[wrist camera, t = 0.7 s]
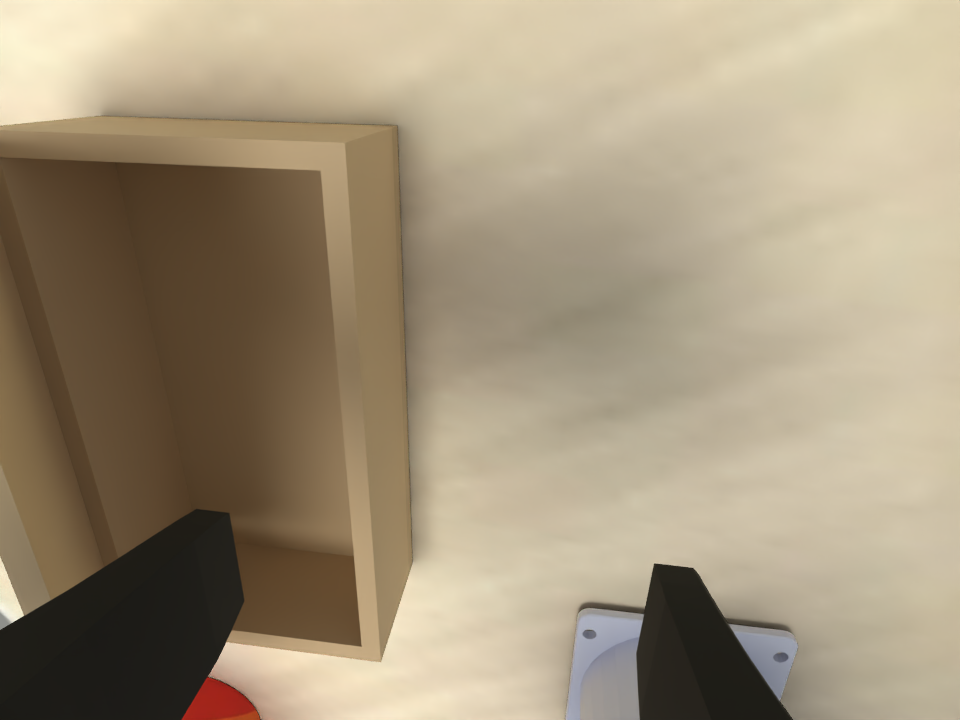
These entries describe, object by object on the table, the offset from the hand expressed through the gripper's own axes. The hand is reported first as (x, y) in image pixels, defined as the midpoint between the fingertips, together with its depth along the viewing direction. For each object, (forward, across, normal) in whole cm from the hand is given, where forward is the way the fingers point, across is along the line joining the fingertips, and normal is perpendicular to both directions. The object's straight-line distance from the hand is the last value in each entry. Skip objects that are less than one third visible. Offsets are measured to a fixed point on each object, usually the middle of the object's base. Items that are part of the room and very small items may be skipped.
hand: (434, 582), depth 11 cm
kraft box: (+10, +8, +2) cm, 13 cm away
